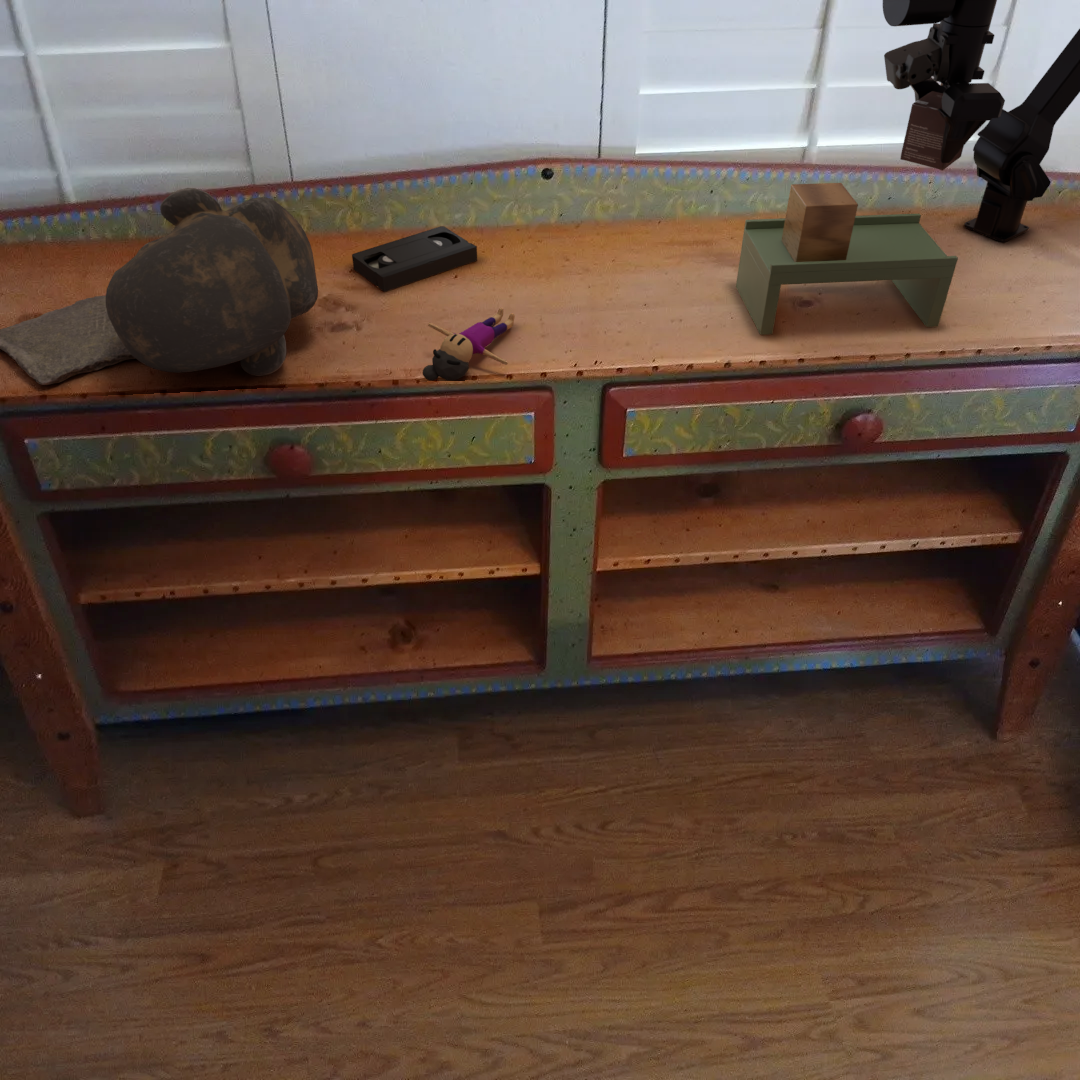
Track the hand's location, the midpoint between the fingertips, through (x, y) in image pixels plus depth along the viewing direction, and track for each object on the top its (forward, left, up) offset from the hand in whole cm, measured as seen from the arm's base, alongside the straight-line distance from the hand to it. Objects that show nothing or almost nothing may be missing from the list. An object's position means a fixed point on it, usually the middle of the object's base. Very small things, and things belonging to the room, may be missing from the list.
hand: (932, 149), depth 138 cm
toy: (+58, -16, -12) cm, 61 cm away
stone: (+92, -43, -11) cm, 102 cm away
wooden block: (+27, +4, -4) cm, 28 cm away
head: (+73, -29, -2) cm, 79 cm away
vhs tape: (+57, -35, -13) cm, 69 cm away
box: (0, 0, -1) cm, 1 cm away
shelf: (+23, +5, -12) cm, 26 cm away
